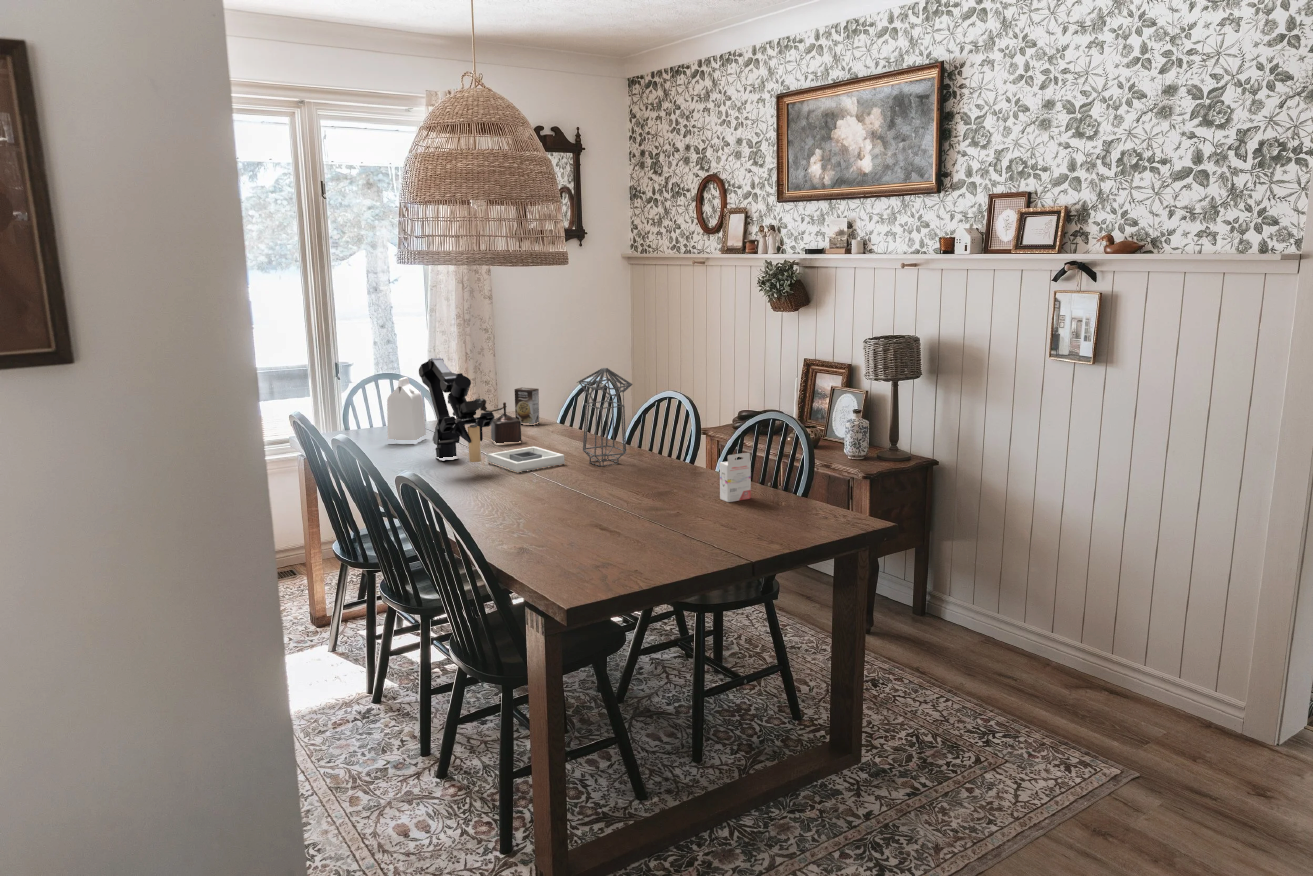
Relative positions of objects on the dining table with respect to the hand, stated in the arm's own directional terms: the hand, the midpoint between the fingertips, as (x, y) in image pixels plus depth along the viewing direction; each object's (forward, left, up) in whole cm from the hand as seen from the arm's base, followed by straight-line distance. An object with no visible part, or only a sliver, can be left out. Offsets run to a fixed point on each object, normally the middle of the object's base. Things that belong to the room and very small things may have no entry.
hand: (476, 441), depth 312 cm
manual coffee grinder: (-33, -41, -12) cm, 54 cm away
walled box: (-21, -2, -12) cm, 24 cm away
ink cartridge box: (-44, +82, -12) cm, 93 cm away
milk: (-6, -70, -12) cm, 71 cm away
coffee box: (-63, -68, -12) cm, 94 cm away
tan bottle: (0, -1, -7) cm, 7 cm away
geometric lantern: (-43, +17, -12) cm, 48 cm away
